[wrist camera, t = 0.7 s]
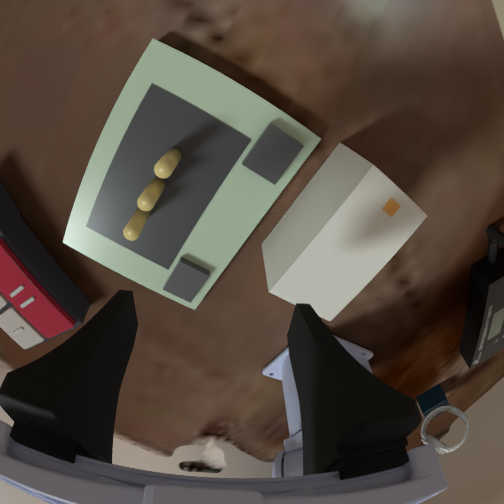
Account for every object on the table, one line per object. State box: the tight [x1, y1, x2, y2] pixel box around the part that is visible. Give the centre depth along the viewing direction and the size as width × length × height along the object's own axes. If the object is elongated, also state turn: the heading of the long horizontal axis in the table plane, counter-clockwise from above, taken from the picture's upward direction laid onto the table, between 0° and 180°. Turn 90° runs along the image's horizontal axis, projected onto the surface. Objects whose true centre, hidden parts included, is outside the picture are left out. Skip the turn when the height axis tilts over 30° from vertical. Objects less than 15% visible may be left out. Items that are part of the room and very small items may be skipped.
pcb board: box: [63, 39, 321, 310], centre depth 18 cm, size 12×16×4 cm
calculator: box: [0, 181, 90, 349], centre depth 21 cm, size 11×4×15 cm
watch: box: [416, 383, 469, 454], centre depth 34 cm, size 6×8×11 cm
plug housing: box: [261, 143, 427, 321], centre depth 19 cm, size 5×9×6 cm, turn 146°
